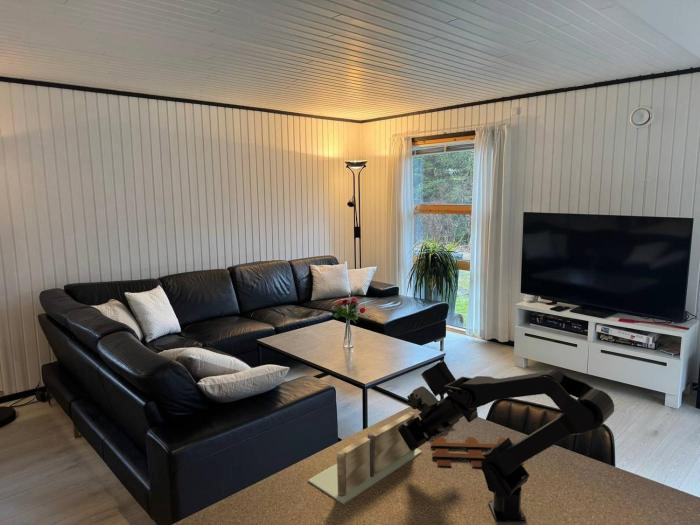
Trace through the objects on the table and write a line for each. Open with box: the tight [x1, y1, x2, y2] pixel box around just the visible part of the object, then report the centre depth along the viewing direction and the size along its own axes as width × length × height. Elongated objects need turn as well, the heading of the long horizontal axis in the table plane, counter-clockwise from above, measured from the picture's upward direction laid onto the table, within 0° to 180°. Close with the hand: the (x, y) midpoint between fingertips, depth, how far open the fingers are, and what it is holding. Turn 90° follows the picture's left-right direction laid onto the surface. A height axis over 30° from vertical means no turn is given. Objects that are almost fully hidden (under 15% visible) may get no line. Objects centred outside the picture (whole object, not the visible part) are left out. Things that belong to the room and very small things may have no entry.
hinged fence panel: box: [370, 411, 416, 473], centre depth 126 cm, size 16×2×10 cm, turn 135°
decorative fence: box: [430, 435, 507, 470], centre depth 131 cm, size 23×2×15 cm
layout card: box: [307, 448, 423, 505], centre depth 125 cm, size 30×12×1 cm, turn 135°
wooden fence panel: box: [336, 433, 374, 497], centre depth 116 cm, size 12×2×11 cm, turn 135°
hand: (410, 437), depth 125 cm, fingers closed
